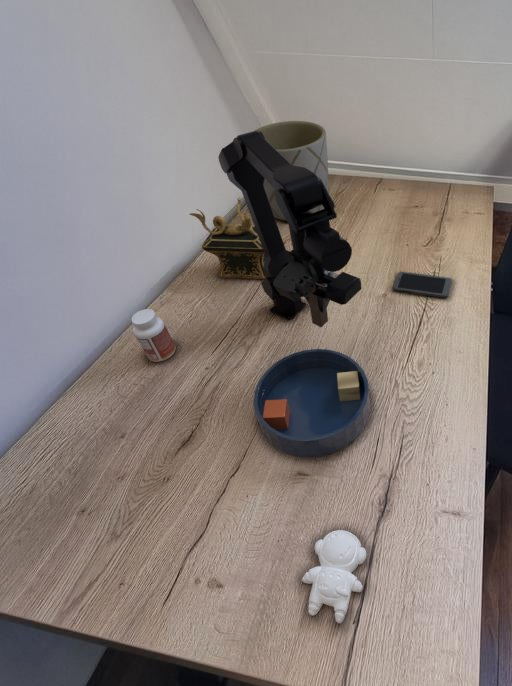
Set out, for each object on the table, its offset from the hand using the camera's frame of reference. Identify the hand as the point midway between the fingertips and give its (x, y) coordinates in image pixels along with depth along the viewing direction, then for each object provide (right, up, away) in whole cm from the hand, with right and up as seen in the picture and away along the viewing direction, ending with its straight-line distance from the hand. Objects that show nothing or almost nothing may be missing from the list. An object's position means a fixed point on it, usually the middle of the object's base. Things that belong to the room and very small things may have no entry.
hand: (318, 308), depth 92 cm
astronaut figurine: (+5, -40, -26) cm, 48 cm away
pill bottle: (-36, -10, +10) cm, 39 cm away
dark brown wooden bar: (0, -3, +3) cm, 4 cm away
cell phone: (+24, +6, +23) cm, 33 cm away
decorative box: (-24, +11, +32) cm, 42 cm away
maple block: (+6, -17, -2) cm, 18 cm away
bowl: (0, -20, -4) cm, 20 cm away
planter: (-12, +34, +56) cm, 66 cm away
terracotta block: (-7, -21, -6) cm, 23 cm away
